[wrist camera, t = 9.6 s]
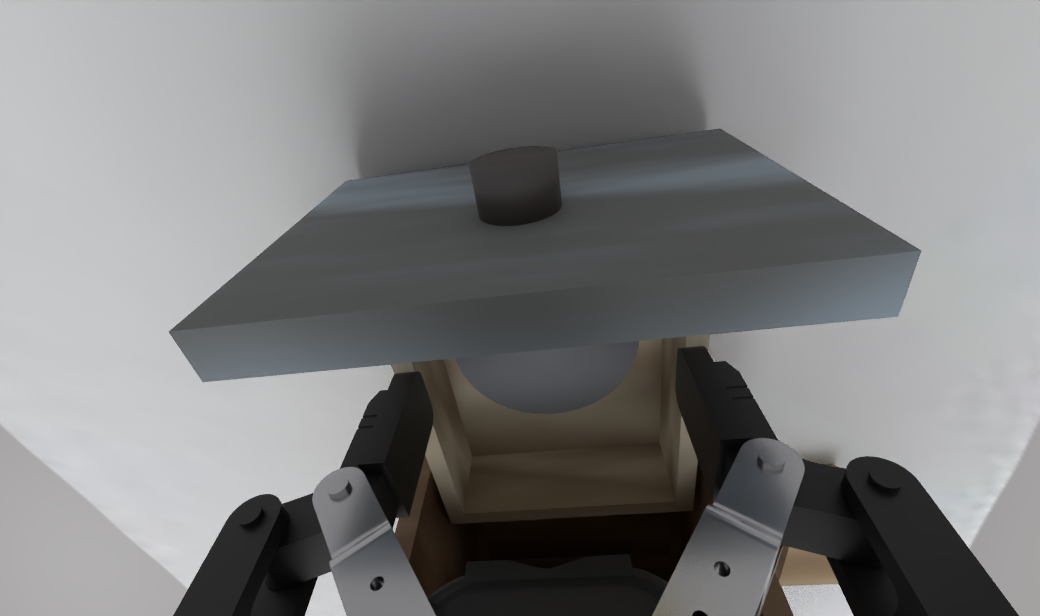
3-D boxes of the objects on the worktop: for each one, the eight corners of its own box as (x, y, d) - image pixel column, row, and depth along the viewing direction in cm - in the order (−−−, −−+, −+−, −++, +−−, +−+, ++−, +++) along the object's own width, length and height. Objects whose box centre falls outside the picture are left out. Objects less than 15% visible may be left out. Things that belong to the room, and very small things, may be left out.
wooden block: (819, 510, 26) (861, 582, 23) (747, 514, 27) (777, 586, 23) (834, 464, 24) (883, 537, 21) (756, 469, 25) (790, 541, 21)
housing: (679, 546, 29) (756, 834, 19) (484, 555, 30) (456, 829, 20) (691, 377, 21) (831, 703, 11) (431, 399, 23) (346, 709, 12)
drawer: (694, 435, 22) (777, 656, 14) (441, 453, 23) (394, 665, 16) (723, 87, 14) (949, 171, 6) (334, 145, 15) (128, 272, 8)
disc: (627, 227, 15) (639, 252, 14) (629, 372, 19) (639, 406, 17) (443, 248, 16) (432, 275, 14) (477, 385, 19) (472, 420, 18)
